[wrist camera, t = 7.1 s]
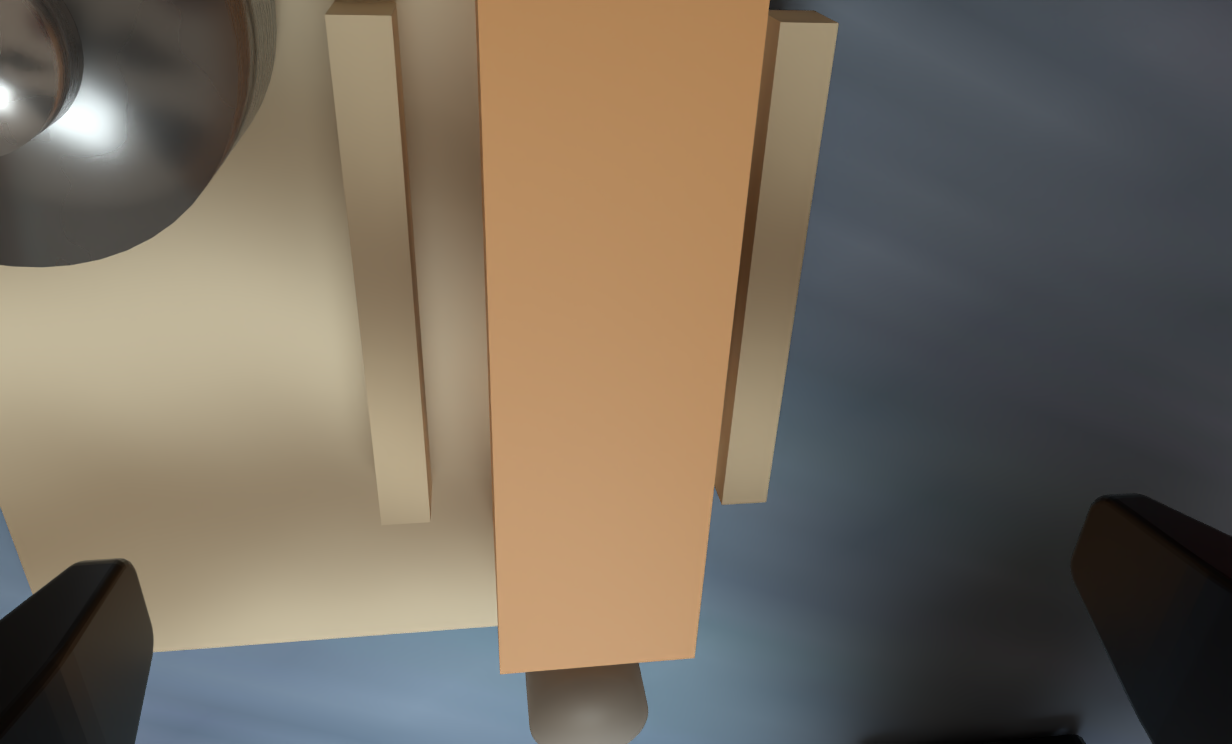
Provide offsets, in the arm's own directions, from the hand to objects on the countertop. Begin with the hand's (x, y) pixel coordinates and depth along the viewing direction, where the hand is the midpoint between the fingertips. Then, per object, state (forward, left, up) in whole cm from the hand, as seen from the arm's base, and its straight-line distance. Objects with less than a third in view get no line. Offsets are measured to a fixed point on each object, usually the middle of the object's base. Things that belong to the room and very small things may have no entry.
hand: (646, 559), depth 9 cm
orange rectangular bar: (0, 0, -7) cm, 7 cm away
